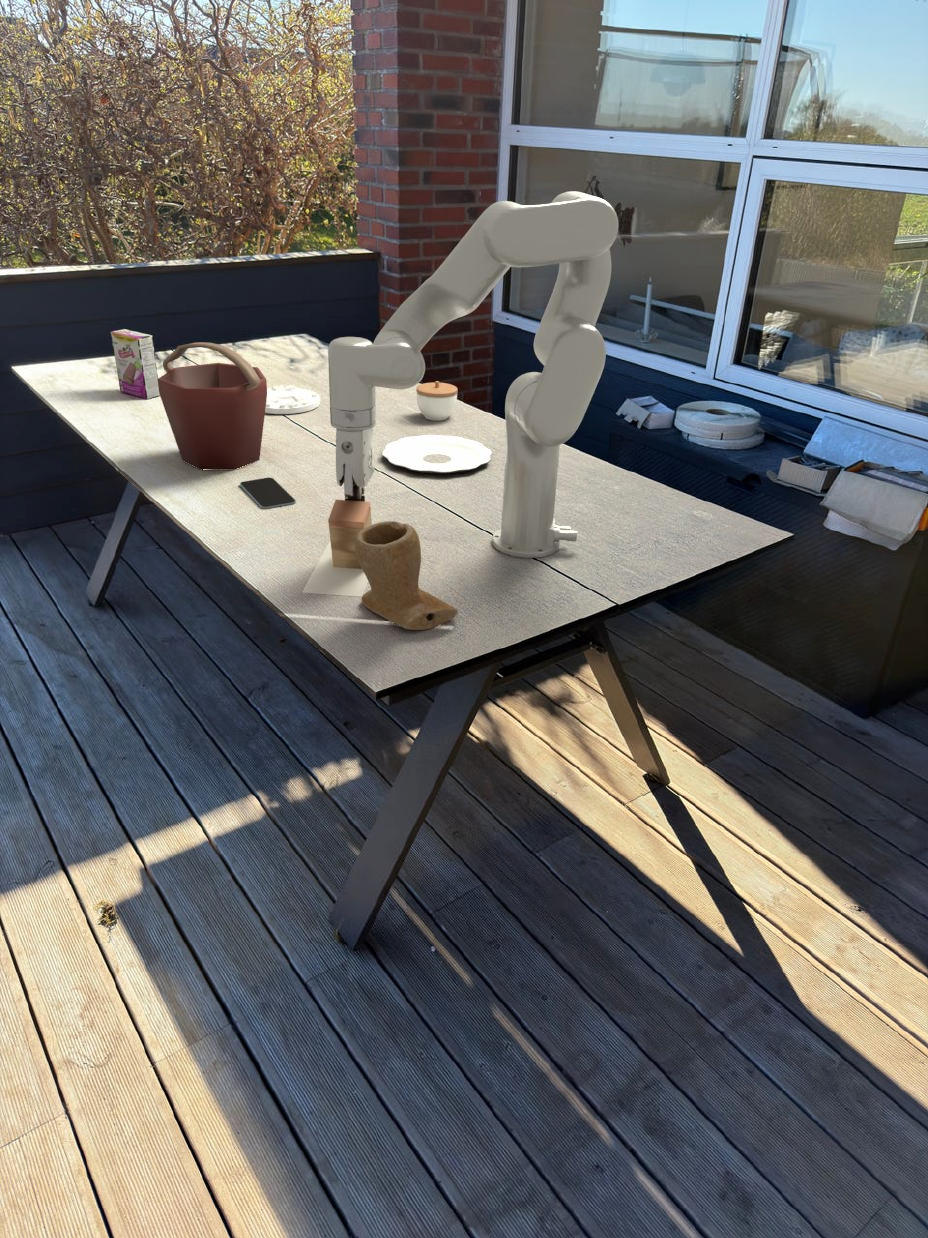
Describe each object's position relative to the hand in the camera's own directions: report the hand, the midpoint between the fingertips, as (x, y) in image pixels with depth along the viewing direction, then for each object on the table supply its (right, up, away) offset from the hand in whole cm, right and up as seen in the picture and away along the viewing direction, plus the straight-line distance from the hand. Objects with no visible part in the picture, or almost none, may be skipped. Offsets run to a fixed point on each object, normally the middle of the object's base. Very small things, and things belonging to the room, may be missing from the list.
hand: (355, 517), depth 157 cm
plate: (+13, +19, +50) cm, 55 cm away
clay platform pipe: (+9, -18, -15) cm, 25 cm away
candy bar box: (-69, +43, +86) cm, 119 cm away
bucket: (-36, +19, +46) cm, 61 cm away
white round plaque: (-30, +39, +83) cm, 97 cm away
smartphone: (-22, +8, +28) cm, 36 cm away
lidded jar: (+12, +35, +78) cm, 86 cm away
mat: (-1, -9, -1) cm, 9 cm away
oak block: (0, -7, 0) cm, 7 cm away
